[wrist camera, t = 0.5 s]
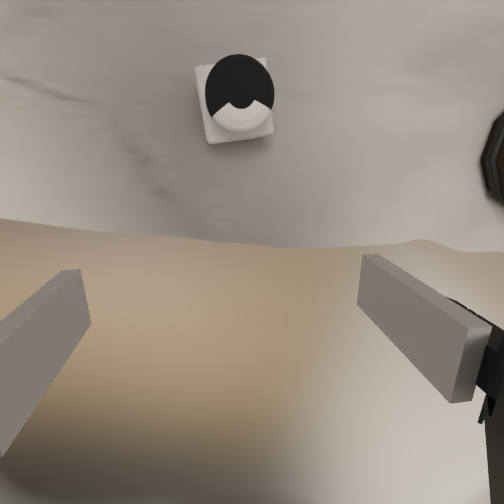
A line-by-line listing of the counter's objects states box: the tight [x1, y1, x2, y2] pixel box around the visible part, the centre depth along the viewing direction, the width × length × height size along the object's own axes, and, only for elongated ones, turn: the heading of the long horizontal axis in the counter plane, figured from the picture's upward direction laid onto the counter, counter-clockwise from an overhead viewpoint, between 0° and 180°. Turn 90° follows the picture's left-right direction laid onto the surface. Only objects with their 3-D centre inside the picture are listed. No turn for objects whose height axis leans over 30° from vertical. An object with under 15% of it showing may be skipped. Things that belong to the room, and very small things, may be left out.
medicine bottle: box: [194, 54, 274, 145], centre depth 32 cm, size 7×7×12 cm
